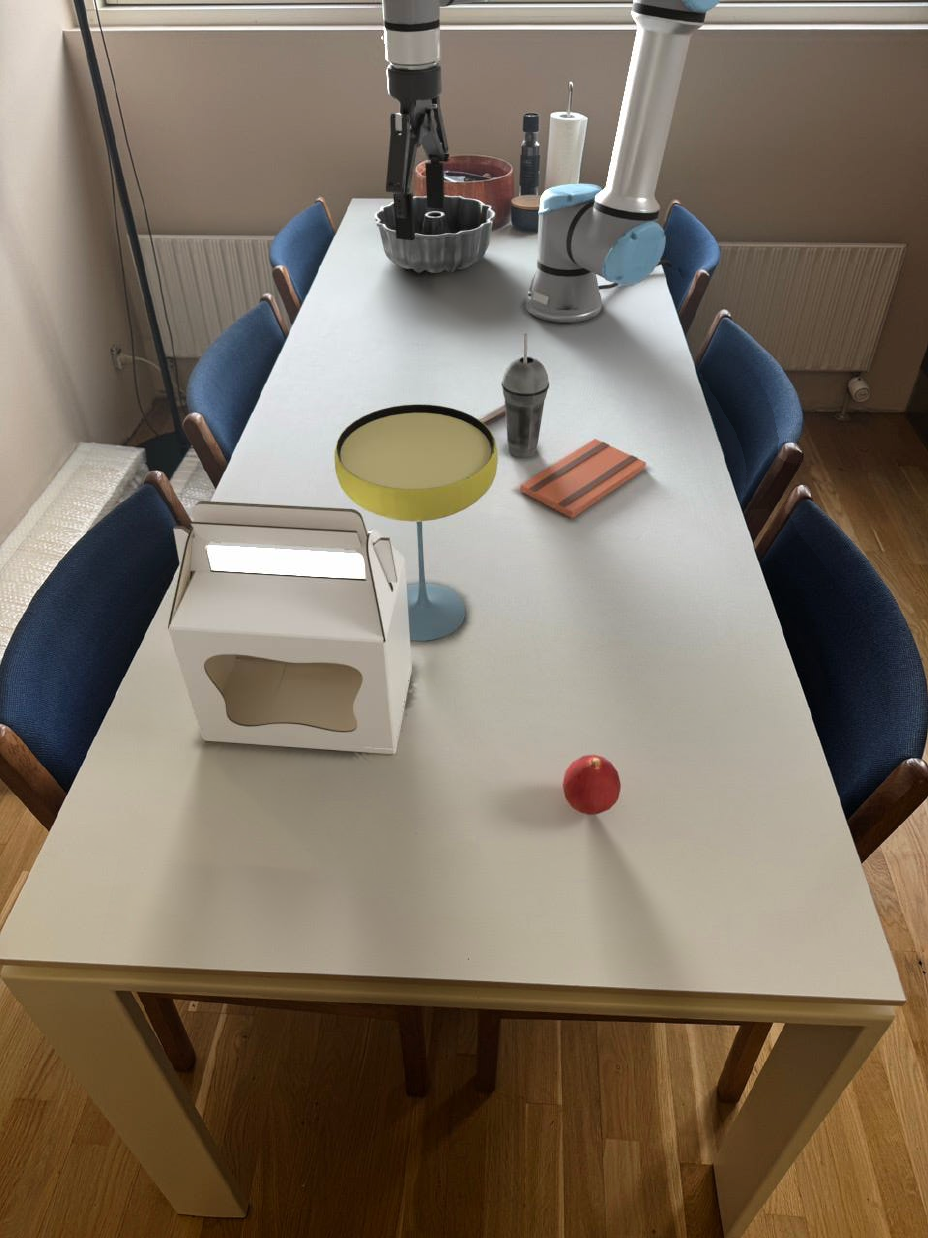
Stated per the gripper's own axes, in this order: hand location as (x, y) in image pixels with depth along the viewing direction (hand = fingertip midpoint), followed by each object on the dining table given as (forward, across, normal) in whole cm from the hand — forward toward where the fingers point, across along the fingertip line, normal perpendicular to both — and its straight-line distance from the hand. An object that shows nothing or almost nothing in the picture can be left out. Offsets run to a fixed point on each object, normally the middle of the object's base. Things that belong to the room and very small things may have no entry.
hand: (421, 222), depth 138 cm
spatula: (+29, +8, +11) cm, 32 cm away
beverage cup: (+29, +13, +20) cm, 38 cm away
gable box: (+28, +73, +12) cm, 79 cm away
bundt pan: (+30, -58, -19) cm, 68 cm away
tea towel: (+29, +18, +32) cm, 47 cm away
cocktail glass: (+29, +54, +18) cm, 64 cm away
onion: (+29, +77, +45) cm, 94 cm away
